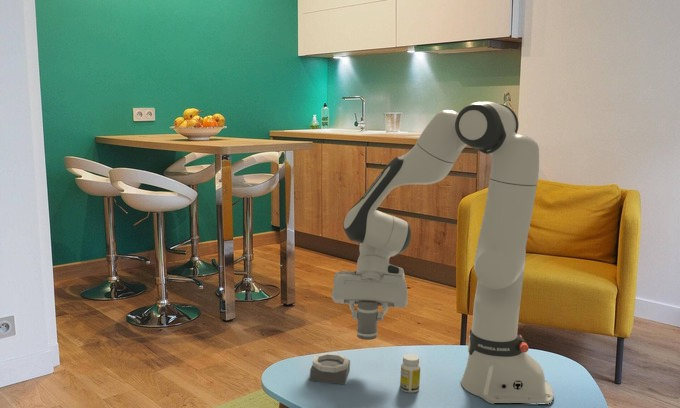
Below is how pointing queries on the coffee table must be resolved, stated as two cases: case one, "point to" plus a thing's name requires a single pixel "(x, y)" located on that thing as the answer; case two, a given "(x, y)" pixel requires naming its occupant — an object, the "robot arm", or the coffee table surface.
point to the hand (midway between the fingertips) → (367, 319)
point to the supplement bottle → (410, 373)
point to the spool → (367, 320)
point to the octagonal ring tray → (330, 368)
